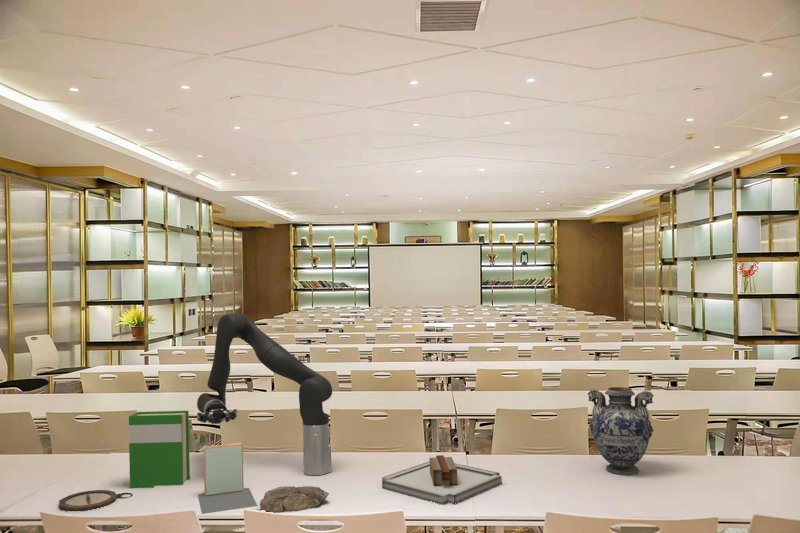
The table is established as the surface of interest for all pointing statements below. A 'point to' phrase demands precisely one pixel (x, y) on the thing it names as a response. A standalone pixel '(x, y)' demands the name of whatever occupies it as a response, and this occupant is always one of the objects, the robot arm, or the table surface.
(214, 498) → the rubber mat
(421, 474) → the grey square tray
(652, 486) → the table surface
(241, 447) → the terracotta tile
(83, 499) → the compass
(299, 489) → the clay tablet
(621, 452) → the decorative vase
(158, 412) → the hardback book
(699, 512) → the table surface
